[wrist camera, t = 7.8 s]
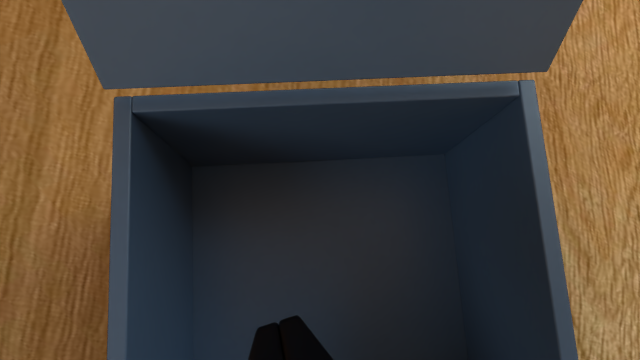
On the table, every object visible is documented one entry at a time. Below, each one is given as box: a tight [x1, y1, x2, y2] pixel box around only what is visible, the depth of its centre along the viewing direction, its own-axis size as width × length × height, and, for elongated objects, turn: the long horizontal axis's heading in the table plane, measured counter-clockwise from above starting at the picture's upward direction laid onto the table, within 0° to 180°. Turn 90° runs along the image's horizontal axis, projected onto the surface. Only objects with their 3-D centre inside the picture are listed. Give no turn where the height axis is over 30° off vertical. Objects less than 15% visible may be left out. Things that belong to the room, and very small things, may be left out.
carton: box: [107, 80, 578, 360], centre depth 15 cm, size 13×12×8 cm
